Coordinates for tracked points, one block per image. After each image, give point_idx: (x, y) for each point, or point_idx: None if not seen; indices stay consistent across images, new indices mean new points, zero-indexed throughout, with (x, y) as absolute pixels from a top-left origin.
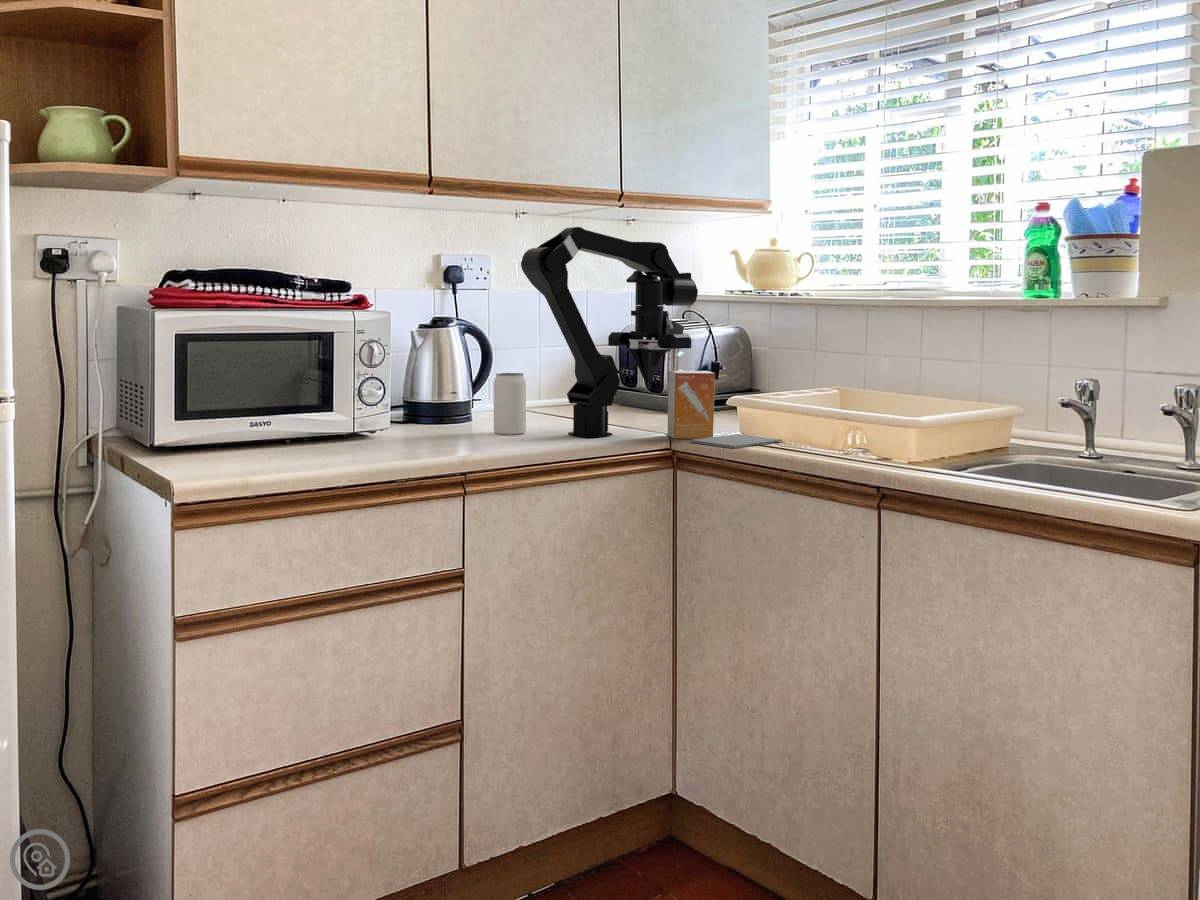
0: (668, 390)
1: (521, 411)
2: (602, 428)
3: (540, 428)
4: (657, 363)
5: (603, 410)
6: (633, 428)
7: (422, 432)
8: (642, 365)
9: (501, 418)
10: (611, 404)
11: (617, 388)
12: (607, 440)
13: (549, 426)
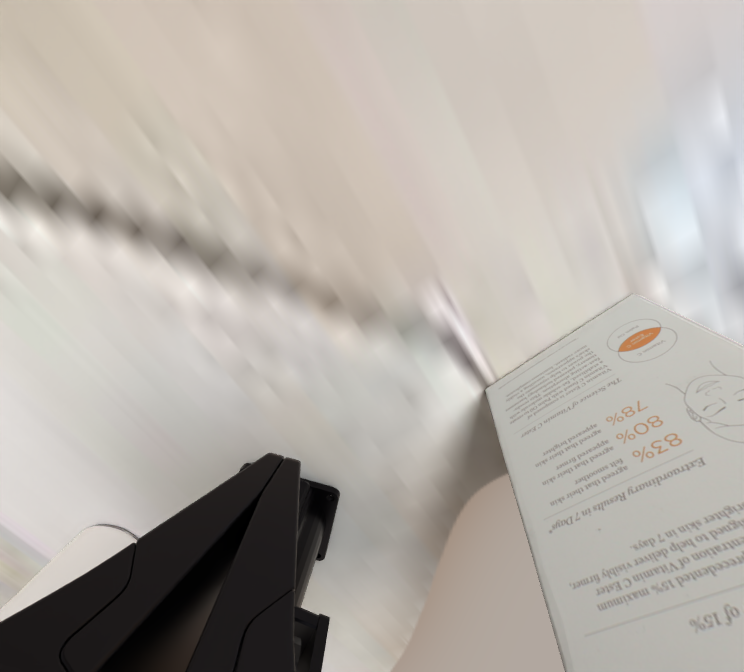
0: (532, 553)
1: None
2: (320, 533)
3: (70, 441)
4: (292, 656)
5: (300, 588)
6: (254, 273)
7: (9, 597)
8: (184, 669)
9: None
10: (328, 621)
11: (296, 666)
12: (383, 557)
13: (41, 391)
